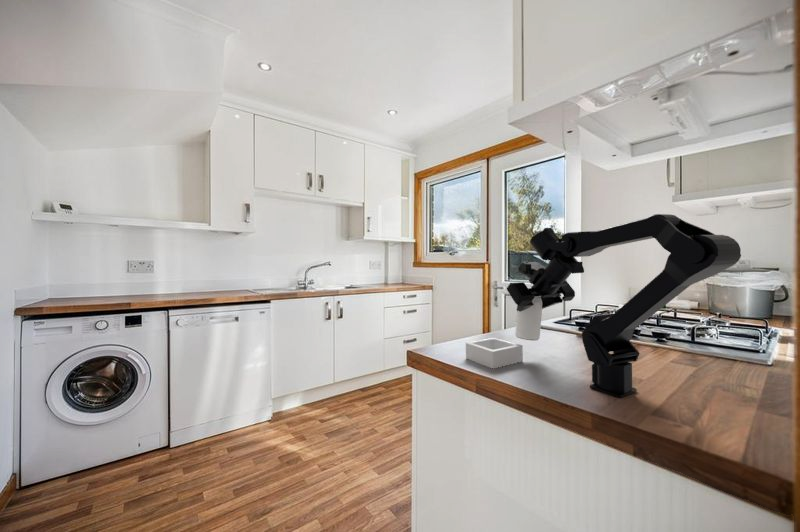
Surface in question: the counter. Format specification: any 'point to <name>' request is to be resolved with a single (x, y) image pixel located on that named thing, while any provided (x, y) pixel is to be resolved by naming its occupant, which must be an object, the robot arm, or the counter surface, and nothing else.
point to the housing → (494, 352)
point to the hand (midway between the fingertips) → (526, 310)
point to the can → (529, 321)
